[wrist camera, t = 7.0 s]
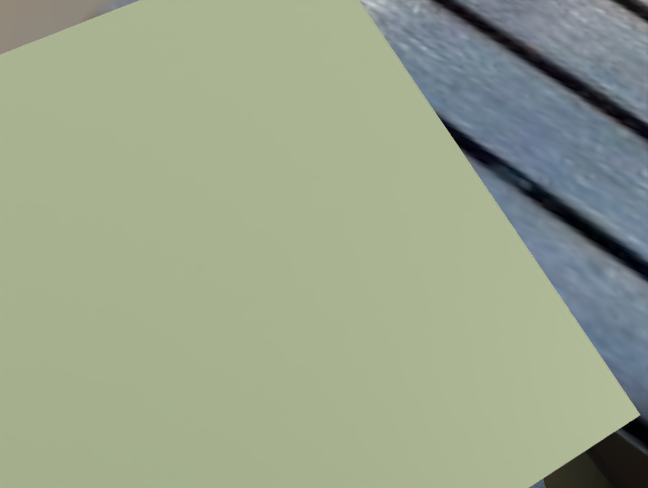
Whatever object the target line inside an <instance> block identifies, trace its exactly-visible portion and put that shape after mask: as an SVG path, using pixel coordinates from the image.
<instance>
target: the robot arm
mask: <svg viewBox="0 0 648 488" xmlns="http://www.w3.org/2000/svg"><path fill="white" fill-rule="evenodd" d="M543 479H544V483H545V486H546V488H648V455H647V454H645V453H644V452H643V451H641V450H640V449H638V448H637V447H636V446H634V445H633V444H632V443H630V442H629V441H628V440H626V439H625V438H623V437H622V436H621V435H619V434H618V433H617V432H613V433H612V434H610V435H609V436H607V437H606V438H604V439H603V440H601V441H600V442H598V443H597V444H595V445H593V446H592V447H590V448H589V449H587V450H586V451H584V452H583V453H581V454H580V455H578V456H577V457H575V458H574V459H572V460H571V461H569V462H567V463H566V464H564V465H563V466H561V467H560V468H558V469H557V470H555V471H554V472H552V473H551V474H549V475H548V476H546V477H544V478H543Z"/></svg>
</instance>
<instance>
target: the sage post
mask: <svg viewBox="0 0 648 488" xmlns="http://www.w3.org/2000/svg"><path fill="white" fill-rule="evenodd" d="M639 415H640V414H639V412H638V411H637V409H636V408H635V406H634V405H633V403H632V402H631V400H630V399H629V397H628V396H627V394H626V393H625V392H624V390H623V389H622V387H621V386H620V384H619V383H618V381H617V380H616V378H615V377H614V375H613V374H612V372H611V371H610V369H609V368H608V366H607V365H606V364H605V362H604V361H603V359H602V358H601V356H600V355H599V353H598V352H597V350H596V349H595V347H594V346H593V344H592V343H591V341H590V340H589V338H588V337H587V336H586V334H585V333H584V331H583V330H582V328H581V327H580V325H579V324H578V322H577V321H576V319H575V318H574V316H573V315H572V313H571V312H570V310H569V309H568V308H567V306H566V305H565V303H564V302H563V300H562V299H561V297H560V296H559V294H558V293H557V291H556V290H555V288H554V287H553V285H552V284H551V282H550V281H549V280H548V278H547V277H546V275H545V274H544V272H543V271H542V269H541V268H540V266H539V265H538V263H537V262H536V260H535V259H534V257H533V256H532V254H531V253H530V252H529V250H528V249H527V247H526V246H525V244H524V243H523V241H522V240H521V238H520V237H519V235H518V234H517V232H516V231H515V229H514V228H513V226H512V225H511V224H510V222H509V221H508V219H507V218H506V216H505V215H504V213H503V212H502V210H501V209H500V207H499V206H498V204H497V203H496V201H495V200H494V198H493V197H492V195H491V194H490V193H489V191H488V190H487V188H486V187H485V185H484V184H483V182H482V181H481V179H480V178H479V176H478V175H477V173H476V172H475V170H474V169H473V167H472V166H471V165H470V163H469V162H468V160H467V159H466V157H465V156H464V154H463V153H462V151H461V150H460V148H459V147H458V145H457V144H456V142H455V141H454V139H453V138H452V137H451V135H450V134H449V132H448V131H447V129H446V128H445V126H444V125H443V123H442V122H441V120H440V119H439V117H438V116H437V114H436V113H435V111H434V110H433V109H432V107H431V106H430V104H429V103H428V101H427V100H426V98H425V97H424V95H423V94H422V92H421V91H420V89H419V88H418V86H417V85H416V83H415V82H414V81H413V79H412V78H411V76H410V75H409V73H408V72H407V70H406V69H405V67H404V66H403V64H402V63H401V61H400V60H399V58H398V57H397V55H396V54H395V53H394V51H393V50H392V48H391V47H390V45H389V44H388V42H387V41H386V39H385V38H384V36H383V35H382V33H381V32H380V30H379V29H378V27H377V26H376V25H375V23H374V22H373V20H372V19H371V17H370V16H369V14H368V13H367V11H366V10H365V8H364V7H363V5H362V4H361V2H360V1H359V0H139V1H137V2H134V3H132V4H129V5H126V6H124V7H121V8H119V9H116V10H114V11H111V12H108V13H106V14H103V15H101V16H98V17H96V18H93V19H91V20H88V21H85V22H83V23H80V24H78V25H75V26H73V27H70V28H68V29H65V30H63V31H60V32H58V33H55V34H52V35H50V36H47V37H45V38H42V39H39V40H37V41H34V42H32V43H29V44H27V45H24V46H21V47H19V48H16V49H14V50H11V51H8V52H6V53H3V54H1V55H0V488H529V487H531V486H532V485H534V484H535V483H537V482H538V481H540V480H541V479H543V478H544V477H546V476H548V475H549V474H551V473H552V472H554V471H555V470H557V469H558V468H560V467H561V466H563V465H564V464H566V463H567V462H569V461H571V460H572V459H574V458H575V457H577V456H578V455H580V454H581V453H583V452H584V451H586V450H587V449H589V448H590V447H592V446H593V445H595V444H597V443H598V442H600V441H601V440H603V439H604V438H606V437H607V436H609V435H610V434H612V433H613V432H615V431H616V430H618V429H619V428H621V427H623V426H624V425H626V424H627V423H629V422H630V421H632V420H633V419H635V418H636V417H638V416H639Z"/></svg>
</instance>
